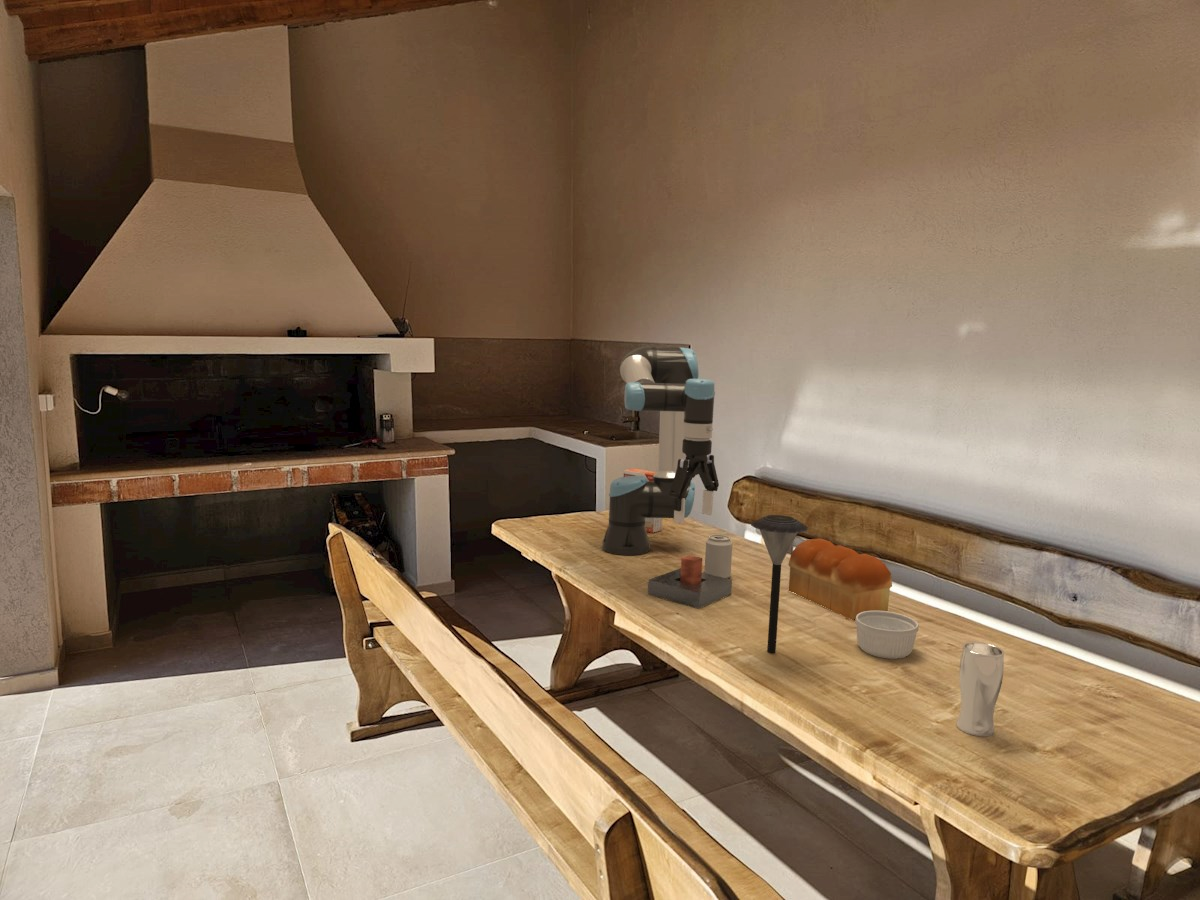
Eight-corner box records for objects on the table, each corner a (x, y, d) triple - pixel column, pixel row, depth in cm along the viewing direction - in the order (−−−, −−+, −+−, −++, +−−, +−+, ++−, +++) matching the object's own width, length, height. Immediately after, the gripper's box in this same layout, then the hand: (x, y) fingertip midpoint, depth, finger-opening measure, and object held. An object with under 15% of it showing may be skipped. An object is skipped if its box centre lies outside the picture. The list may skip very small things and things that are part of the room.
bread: (786, 591, 221) (789, 538, 219) (821, 586, 227) (825, 535, 225) (852, 621, 199) (857, 563, 197) (889, 614, 205) (894, 558, 203)
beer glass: (946, 719, 148) (954, 641, 146) (983, 719, 149) (991, 641, 146) (966, 738, 141) (975, 656, 139) (1004, 738, 142) (1013, 656, 140)
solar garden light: (806, 663, 172) (816, 525, 167) (748, 662, 172) (757, 524, 167) (792, 641, 184) (801, 512, 180) (738, 640, 184) (746, 511, 179)
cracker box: (620, 526, 289) (622, 469, 286) (631, 524, 294) (633, 467, 291) (652, 534, 280) (654, 474, 278) (662, 531, 285) (665, 472, 282)
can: (729, 574, 236) (731, 533, 234) (731, 581, 228) (733, 540, 226) (703, 572, 236) (705, 532, 235) (704, 580, 229) (706, 538, 227)
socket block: (647, 594, 215) (648, 579, 214) (681, 581, 227) (682, 567, 226) (699, 608, 205) (699, 593, 204) (731, 594, 217) (732, 579, 216)
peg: (679, 594, 216) (681, 557, 214) (687, 590, 219) (689, 555, 217) (692, 597, 213) (694, 560, 212) (700, 594, 216) (702, 558, 215)
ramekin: (875, 663, 173) (878, 632, 172) (841, 641, 186) (843, 612, 185) (928, 659, 177) (931, 628, 176) (891, 637, 189) (894, 608, 188)
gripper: (682, 445, 198) (678, 529, 201) (734, 436, 217) (729, 513, 220) (657, 441, 203) (654, 523, 206) (710, 433, 222) (706, 508, 225)
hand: (693, 518), depth 213 cm, fingers open, 13 cm apart
